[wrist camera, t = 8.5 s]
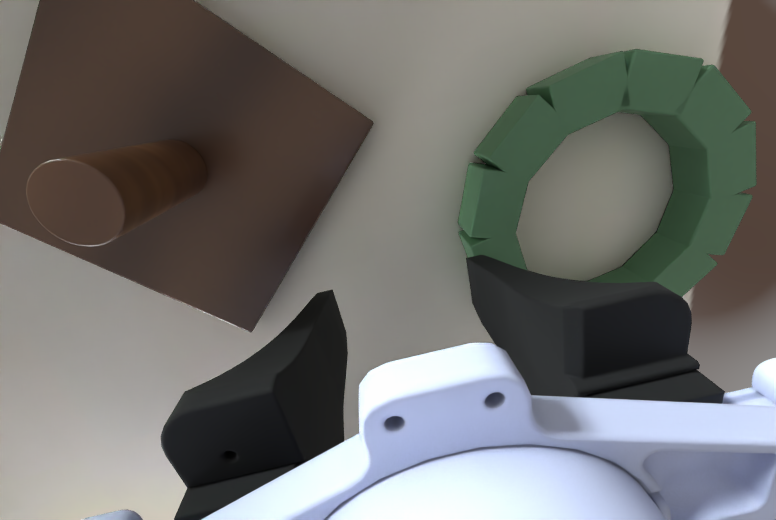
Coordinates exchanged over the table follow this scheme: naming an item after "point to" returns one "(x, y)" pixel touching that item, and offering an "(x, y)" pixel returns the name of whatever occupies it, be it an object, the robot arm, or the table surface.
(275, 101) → the post
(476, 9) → the table surface
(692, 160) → the ring
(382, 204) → the table surface
